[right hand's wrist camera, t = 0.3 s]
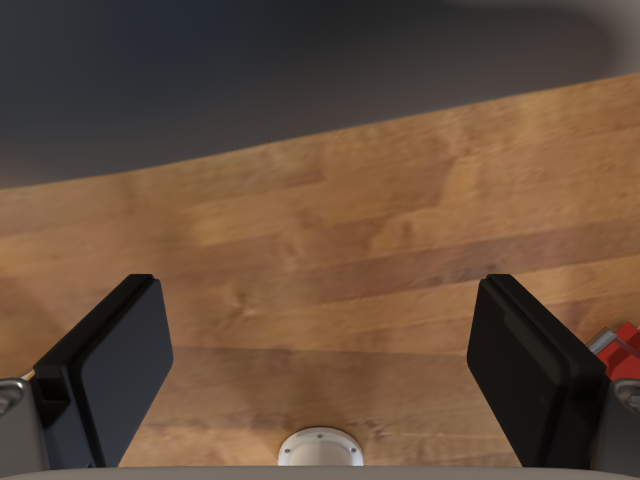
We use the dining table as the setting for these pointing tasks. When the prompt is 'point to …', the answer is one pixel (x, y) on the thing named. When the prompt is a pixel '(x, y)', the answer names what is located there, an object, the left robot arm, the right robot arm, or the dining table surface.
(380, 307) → the dining table surface
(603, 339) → the drawer
